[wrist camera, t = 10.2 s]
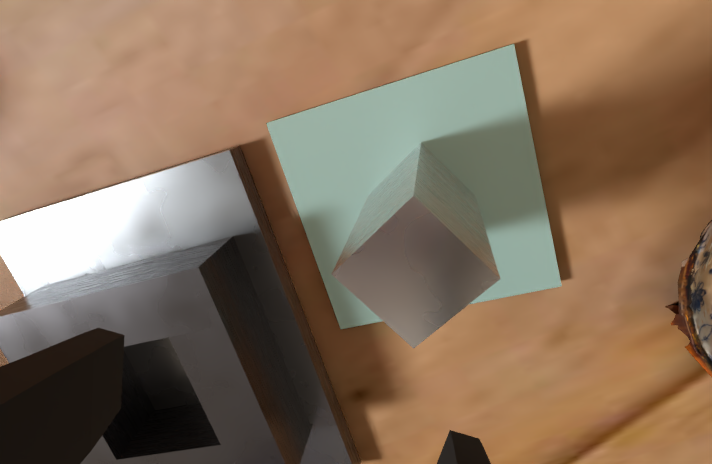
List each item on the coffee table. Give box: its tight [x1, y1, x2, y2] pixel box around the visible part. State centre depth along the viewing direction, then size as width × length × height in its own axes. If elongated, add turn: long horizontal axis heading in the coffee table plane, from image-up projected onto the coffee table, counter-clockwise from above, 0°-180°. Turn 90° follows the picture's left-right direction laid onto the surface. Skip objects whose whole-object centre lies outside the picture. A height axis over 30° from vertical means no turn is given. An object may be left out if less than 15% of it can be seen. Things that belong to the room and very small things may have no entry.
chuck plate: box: [0, 146, 361, 464], centre depth 20 cm, size 16×12×4 cm
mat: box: [266, 44, 562, 329], centre depth 18 cm, size 9×9×1 cm
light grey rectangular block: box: [331, 143, 500, 348], centre depth 14 cm, size 3×3×7 cm
